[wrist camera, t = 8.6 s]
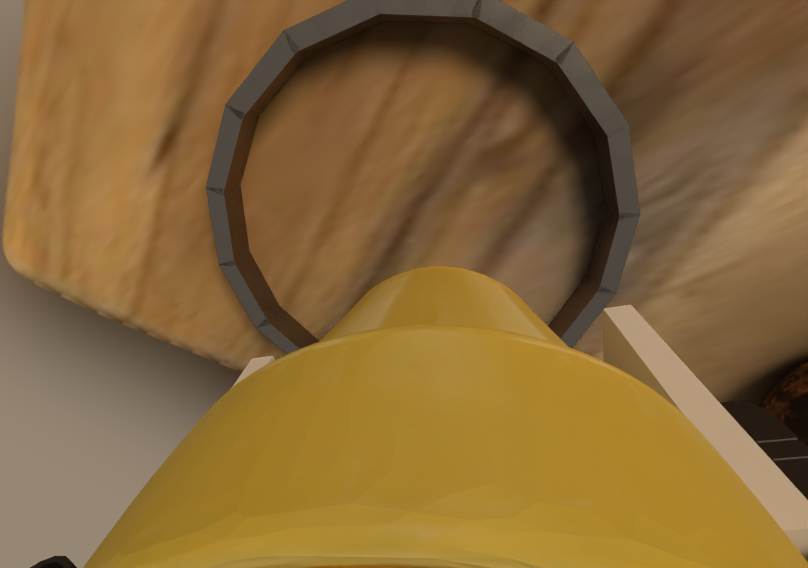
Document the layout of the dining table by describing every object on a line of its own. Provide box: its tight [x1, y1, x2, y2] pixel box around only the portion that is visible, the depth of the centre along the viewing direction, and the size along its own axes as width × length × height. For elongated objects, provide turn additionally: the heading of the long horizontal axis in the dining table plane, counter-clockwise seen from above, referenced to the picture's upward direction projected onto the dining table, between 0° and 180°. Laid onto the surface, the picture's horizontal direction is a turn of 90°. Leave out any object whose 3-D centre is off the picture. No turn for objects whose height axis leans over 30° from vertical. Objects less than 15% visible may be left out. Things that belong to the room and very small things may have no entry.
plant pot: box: [83, 266, 808, 568], centre depth 9 cm, size 10×10×10 cm
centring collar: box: [206, 0, 640, 354], centre depth 29 cm, size 28×28×2 cm
